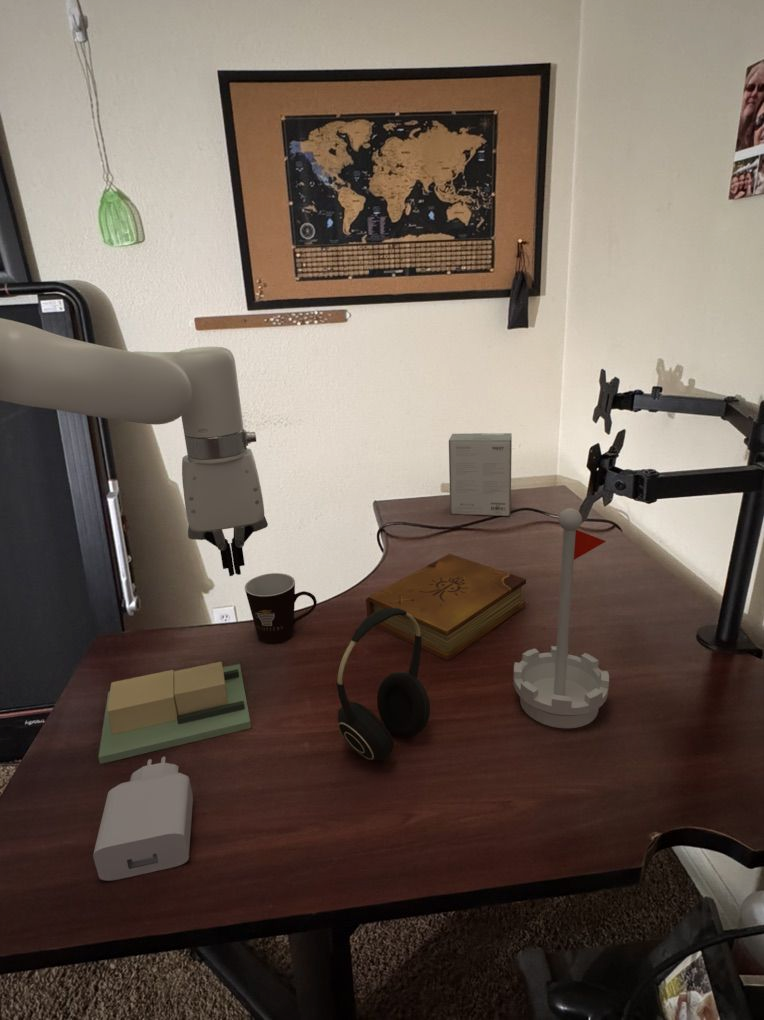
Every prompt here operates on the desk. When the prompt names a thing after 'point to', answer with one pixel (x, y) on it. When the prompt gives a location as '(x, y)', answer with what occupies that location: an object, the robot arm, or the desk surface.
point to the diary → (449, 604)
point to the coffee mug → (274, 606)
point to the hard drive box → (480, 473)
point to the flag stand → (563, 654)
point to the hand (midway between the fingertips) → (234, 571)
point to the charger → (145, 823)
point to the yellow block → (200, 688)
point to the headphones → (384, 700)
